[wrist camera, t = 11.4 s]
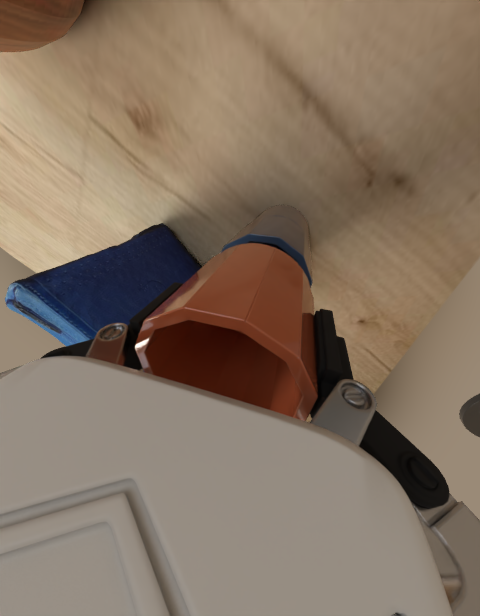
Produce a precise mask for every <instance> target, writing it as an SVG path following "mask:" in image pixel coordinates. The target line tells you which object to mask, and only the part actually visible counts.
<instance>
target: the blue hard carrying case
mask: <svg viewBox="0 0 480 616" xmlns="http://www.w3.org/2000/svg"><path fill="white" fill-rule="evenodd" d="M201 268H202V266H201V265H199V264H198V263H197V262H196V261H195V258H194V257H193V256H192V255H191V254H190V253H189V252H188V251H187V250H186V249H185V247H184V246H183V244H182V243H181V242H180V241H179V240H178V239H177V238H176V236H175V235H174V233H173V232H172V231H171V230H170V229H169V228H168V227H167V226H166V225H164V224H163V223H161V224H159V225H154V226H151V227H149V228H148V229H145V230H143V231H142V232H140V233H139V234H137V235H135V236H133V237H132V239H131V240H128V241H126V242H124V243H122V244H120V245H118V246H112V247H109V248H107V249H105V250H102V251H99V252H97V253H94V254H91V255H87V256H85V257H82V258H80V259H78V260H75V261H72V262H69V263H66V264H64V265H61V266H58V267H56V268H53V269H49V270H46V271H43V272H40V273H37V274H34V275H32V276H30V277H28V278H26V279H22V280H18V281H15V282H13V283H12V284H10V286H9V287H8V292H7V295H6V297H5V301H6V305H7V307H8V308H9V309H11V310H13V311H15V312H17V313H19V314H21V315H23V316H24V317H26V318H28V319H29V320H31V321H33V322H34V323H35V324H37V325H38V326H40V327H41V328H43V329H44V330H46V331H47V332H49V333H50V334H52V335H53V336H54V337H56V338H57V339H58V340H59V341H61V342H62V343H63V344H64V345H66V346H69V345H73V344H77V343H80V342H84V341H88V340H91V339H94V338H95V336H96V334H97V332H98V331H99V330H100V329H101V328H103V327H105V326H107V325H109V324H113V323H124V324H126V325H129V324H130V322H129V320H130V319H131V318H133V317H134V316H135V315H136V314H137V313H139V312H140V311H141V310H142V309H143V308H144V307H146V306H147V305H148V304H149V303H150V302H152V301H153V300H154V299H155V298H156V297H158V296H159V295H160V294H161V293H162V292H163V291H165V290H166V289H167V288H168V287H169V286H171V285H172V284H173V283H174V282H177V283H183V284H184V283H185V282H186V281H188V280H189V279H190V278H191V277H192V276H193V275H194V274H195V273H196V272H197V271H198V270H200V269H201Z"/></svg>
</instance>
